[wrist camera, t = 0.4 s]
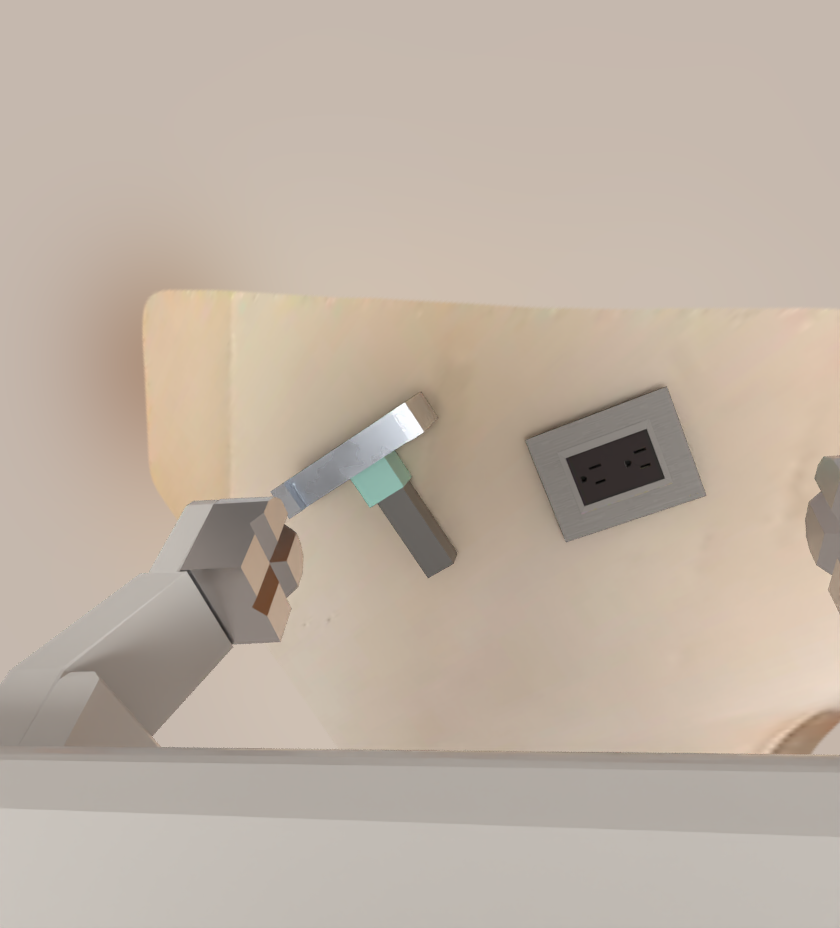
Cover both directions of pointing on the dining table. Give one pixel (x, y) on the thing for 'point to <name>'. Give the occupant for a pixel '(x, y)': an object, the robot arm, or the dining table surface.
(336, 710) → the dining table surface
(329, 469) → the grey piece
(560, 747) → the dining table surface
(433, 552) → the plug
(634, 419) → the electrical outlet
